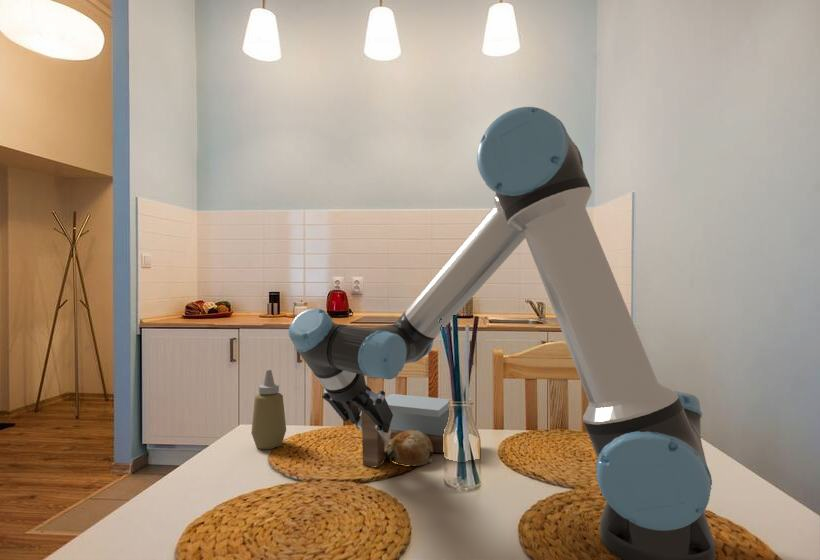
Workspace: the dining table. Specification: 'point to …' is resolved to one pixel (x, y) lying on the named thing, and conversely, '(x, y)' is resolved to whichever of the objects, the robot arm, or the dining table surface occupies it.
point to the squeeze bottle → (268, 415)
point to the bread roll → (410, 448)
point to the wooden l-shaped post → (377, 447)
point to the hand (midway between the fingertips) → (379, 435)
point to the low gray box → (418, 413)
